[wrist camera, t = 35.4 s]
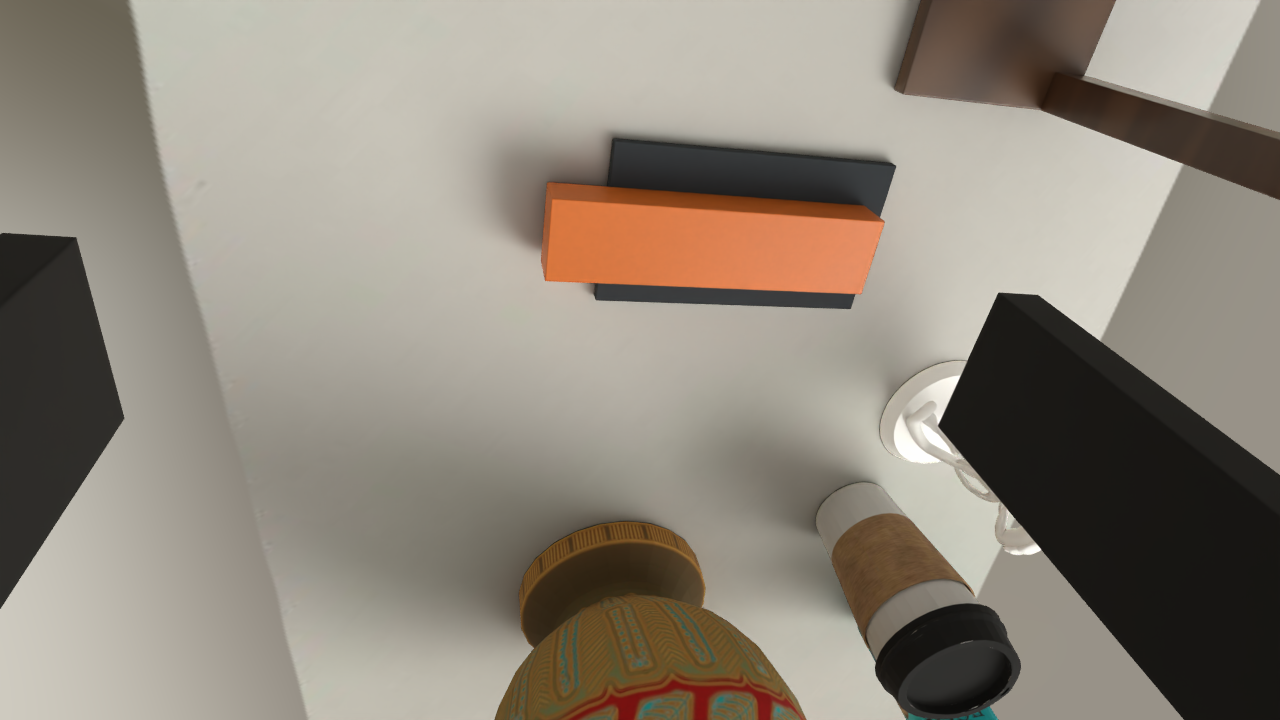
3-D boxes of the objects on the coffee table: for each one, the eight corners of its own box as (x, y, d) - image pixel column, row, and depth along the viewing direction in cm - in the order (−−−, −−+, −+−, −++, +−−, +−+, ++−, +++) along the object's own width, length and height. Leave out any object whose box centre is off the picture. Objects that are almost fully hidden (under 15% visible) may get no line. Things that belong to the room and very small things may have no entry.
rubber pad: (593, 295, 42) (595, 300, 41) (612, 137, 37) (614, 141, 37) (846, 305, 46) (851, 309, 45) (891, 162, 41) (897, 165, 41)
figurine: (996, 343, 50) (1171, 491, 38) (996, 437, 55) (1151, 596, 42) (874, 386, 50) (1010, 550, 37) (885, 476, 55) (1008, 647, 42)
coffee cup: (865, 558, 59) (971, 733, 47) (779, 541, 56) (868, 725, 44) (924, 480, 56) (1055, 648, 43) (835, 458, 53) (950, 632, 40)
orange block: (540, 261, 40) (544, 281, 37) (547, 181, 37) (551, 198, 35) (843, 275, 44) (861, 294, 42) (864, 205, 42) (885, 221, 40)
